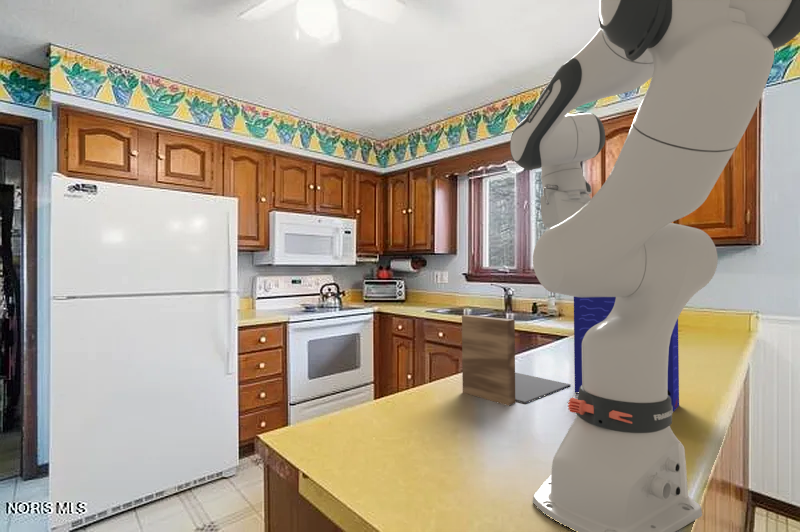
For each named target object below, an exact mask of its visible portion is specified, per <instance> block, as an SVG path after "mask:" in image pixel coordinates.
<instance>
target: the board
mask: <svg viewBox="0 0 800 532" xmlns="http://www.w3.org/2000/svg"><path fill="white" fill-rule="evenodd" d="M515 325H516V324H515V319H511V318H503V317H502V318H501V317H494V316H493V317H492V316H484V315H483V316H482V315H471V314H469V315H461V355H462V356H461V357H462V359H461V360H462V361H461V362H462V364H461V365H462V369H461V370H462V371H461V374H462V393H463V394H466V395H470V396H474V397H477V398H481V399H484V400H488V401H492V402H493V403H497V402H498V404H502V405H504V406H511V405H514V404H516V401H515V373H516V344H515V343H516V341H515V338H516V337H515V335H516V334H515V329H516V326H515ZM513 403H514V404H513ZM510 404H511V405H510Z"/></svg>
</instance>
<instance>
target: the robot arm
mask: <svg viewBox="0 0 800 532" xmlns="http://www.w3.org/2000/svg"><path fill="white" fill-rule="evenodd" d="M598 7H599V8H598V25H599V27H600V28H599V29H598V30H597V32H595V34H594V36H593V37H592V38H591V39H590V40H589V41H588V42H587V44H585V46H584V47H583V48H582V49H581V50H579V51H578V52H577V53H576V54H574V56H573V57H572V58H570V59H569V60H567V61H566V62H565V63H564V64H562V65H561V66H560V68H558V70H557V71H556V72H555V73H554V75H553V76H552V78H551V79H550V81H549V82H548V83H547V85H546V87H545V88H544V89H543V91H542V92H541V94H540V95H539V97H538V99H537V100H536V102H535V103H534V105H532V107H531V109H530V111H529V113H528V114H527V116H525V118H524V119H522V120H521V121H520V122H519V123H518V124H517V126H516V127H515V128H514V130H513V132H512V134H511V138H510V143H509V144H510V145H509V150H510V155H511V159H512V160H513V161H514V163H516V164H517V166H520V168H522V169H524V170H526V171H532V170H537V169H541V175H540V179H541V185H542V194H541V197H540V213H541V221H542V224H543V226H544V228H545V229H546V230H545V231H544V232H543V233H542V235H540V237H539V239H538V240H537V241H536V243H535V246H534V249H533V254H532V265H533V271H534V274H535V276H536V278H537V280H538V282H539V283H540V284H541V286H542V287H543V288H544V289H545V290H546V291H548V292H551V293H555V294H559V295H564V296H569V297H573V298H574V297H581V298H582V297H616V299H615V304H614V307H613V309H612V311H611V312H610V314H609V315H608V316H607V318H606V319H604V320H603V321H602V322H600V323H598V324H596V325H594V326H593V327H591V328H590V329H589V330H588V331H587V332H586V334H585V336H584V338H583V341H582V385H581V386H580V389H579V393H577V396H576V397H570V398H569V401H568V402H567V403H568V405H567V407H568V408H567V409H568V410H569V411H568V412H571V413H575V414H576V415H575V416H576V417H575V418H574V420H573V422H572V424H571V425H570V426H569V429H568V430H567V432H566V434H565V436H564V437H563V440H562V441H561V443H560V445H559V447H558V448H557V451H556V452H555V454H554V456H553V459H552V464H551V471H550V472H551V473H550V474H549V476H548V477H547V478H546V479H545V480H544V481H543V483H542V484H541V485H540V486H539V487H538V488H537V490H536V491H535V492H534V494H533V495H532V504H533V503H534V504H535V505H536V506H537V507H538V508H539V509H540V510H541V511H542V512H544V513H545V514H547V515H549V516H550V517H552V518H553V519H555V520H557V521H559V522H560V523H562V524H563V525H566V526H568V527H570V528H572V529H574V530H575V531H578V532H677V531H679V530H680V529H682V528H684V527H685V526H688V525H689V524H691V523H692V522H694V521H696V520H698V519H699V518H701V517H702V516H703V512H702V506H701V504H700V503H698V502H697V501H695V500H694V499H693V498H691V497H690V496H689V489H688V487H689V486H688V475H687V474H688V473H687V462H686V449H685V447H684V445H683V443H682V442H681V441H680V440H679V439H678V437H677V436H676V435H675V433H674V432H673V430H672V427H671V425H672V423H673V413H674V412H673V408H672V405H671V398H670V396H669V395H668V354H669V344H670V338H671V335H672V331H673V329H674V326H675V323H676V321H677V319H678V320H679V317H680V315H681V312H683V310H684V308H685V307H686V306H687V303H688V302H689V301H690V300H691V299H692V297H694V295H696V294H697V293H698V292H699V291H700V290H702V289H704V288H705V287H707V286H708V284H709V283H710V282H711V280H712V279H713V277H714V276H715V273H716V271H717V267H718V263H719V262H718V259H719V257H718V256H719V255H718V250H717V247H716V245H715V243H714V241H713V239H712V238H711V236H710V235H709V234H708V233H707V232H705V230H702V229H700V228H697V227H692V226H688V225H684V224H678V223H673V222H676V221H677V220H680V219H683V218H684V217H686V216H688V215H690V214H691V213H693V212H695V211H696V210H698V209H699V208H700V207H701V206H702V205H703V204H704V203H705V201H706V200H707V198H708V197H709V195H710V193H711V191H712V190H713V189H714V187H715V185H716V183H717V181H718V180H719V178H720V177H721V175H722V173H723V171H724V169H725V167H726V166H727V164H728V162H729V160H730V159H731V157H732V156H733V154H734V152H735V150H736V149H737V147H738V145H739V143H740V142H741V140H742V138H743V135H744V134H745V132H746V131H747V128H748V126H749V124H750V122H751V120H752V118H753V117H754V114H755V112H756V110H757V107H758V105H759V103H760V100H761V98H762V95H763V92H764V90H765V87H766V85H767V82H768V79H769V77H770V73H771V70H772V66H773V64H774V60H775V49H778V48H780V47H783V46H785V44H788V43H789V42H790V41H792V40H793V39H794V38H795V37H797V35H798V34H799V33H800V0H599V6H598ZM649 80H650V82H649ZM647 82H649V85H648V88H647V90H646V92H645V94H644V97H643V98H642V100H641V102H640V105H639V107H638V109H637V112H636V114H635V116H634V118H633V121H632V124H631V127H630V129H629V131H628V134H627V136H626V139H625V141H624V143H623V145H622V148H621V150H620V152H619V154H618V157H617V159H616V161H615V163H614V165H613V168H612V170H611V172H610V174H609V175H608V177H607V178H606V180H605V182H604V183H603V184H602V186H601V187H600V188H599V189H598V190H597V191H596V193H595V194H594V195H593V196H592V197H591V196H590V195H591V194H592V193H593V191H592V186H591V185H590V183H589V182H588V181H587V180H586V177H585V175H584V173H583V172H584V171H583V168H582V165H581V163H582V162H584V161H588V160H591V159H594V158H596V156H597V155H599V153H600V152H601V151H602V149H603V148H604V146H605V144H606V131H605V125H604V124H603V122H602V121H601V119H600V118H599V117H598V116H597V115H595V114H594V113H589V112H585V113H575V114H570V112H572V111H573V110H575V109H577V108H579V107H581V106H583V105H586V104H589V103H592V102H595V101H599V100H602V99H606V98H609V97H614V96H617V95H621V94H625V93H628V92H632V91H634V90H636V89H638V88H641V86H643V85H644V84H646V83H647ZM534 504H533V505H534ZM535 505H534V506H535ZM536 506H535V507H536ZM537 507H536V508H537ZM538 508H537V509H538ZM539 509H538V510H539ZM540 510H539V511H540ZM541 511H540V512H541ZM542 512H541V513H542ZM545 514H544V515H545Z"/></svg>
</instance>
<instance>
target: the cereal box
mask: <svg viewBox="0 0 800 532" xmlns="http://www.w3.org/2000/svg"><path fill="white" fill-rule="evenodd" d="M615 299H616V297H582V298H581V297H574V296H573V342H574V343H573V350H574V352H573V353H574V354H573V357H574V360H573V361H574V393H575V392H579V389H580V386H581V385H582V341H583V338H584V336H585V334H586V332H587V331H588V330H589V329H590V328H591V327H593V326H594V325H596V324H598V323H600V322H602V321H603V320H604V319H606V318H607V316H608V315H609V314H610V312H611V311H612V309H613V307H614V304H615ZM679 357H680V356H679V318H678V319H677V321H676V323H675V326H674V329H673V331H672V335H671V338H670V344H669V354H668V395H669V396H670V398H671V405H672V408H673V413H674V412H675V411H676V410H677V409H678V407H679V406H680V369H679V367H680V366H679V364H680V363H679V361H680V360H679Z"/></svg>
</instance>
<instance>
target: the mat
mask: <svg viewBox="0 0 800 532" xmlns="http://www.w3.org/2000/svg"><path fill="white" fill-rule="evenodd" d="M568 386H570V387H571V384H570V383H566V382H561V381H558V380H552V379H548V378H544V377H537V376H533V375H528V374H524V373H519V372H515V402H517V401H518V403H520V402H522V403H521V404H524V403H526V404H528V403H530V402H529V401H531V402H533V401H532V400H534V399H536V400H538V399H537V398H539V397H541V398H543V397H542V396H544V395H546V396H548V395H547V394H549V393H552V392H554V393H556V392H555V391H557V392H559V391H561V390H560V389H562V390H564V389H563V388H565V387H567V388H569V387H568ZM565 389H566V388H565ZM558 390H559V391H558ZM552 394H553V393H552ZM549 395H550V394H549ZM544 397H545V396H544ZM539 399H540V398H539ZM534 401H535V400H534ZM527 402H528V403H527Z"/></svg>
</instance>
